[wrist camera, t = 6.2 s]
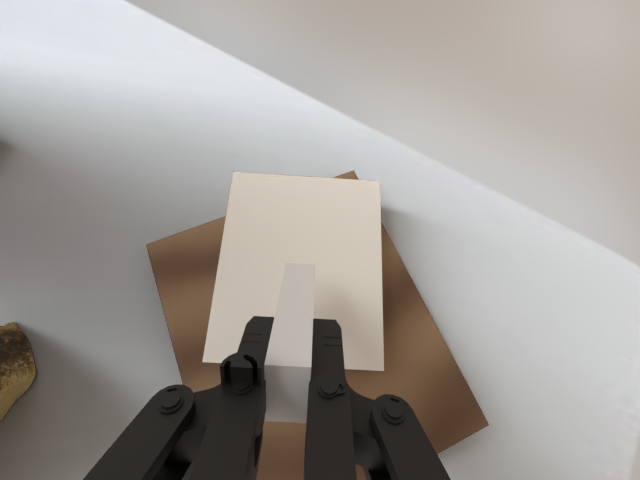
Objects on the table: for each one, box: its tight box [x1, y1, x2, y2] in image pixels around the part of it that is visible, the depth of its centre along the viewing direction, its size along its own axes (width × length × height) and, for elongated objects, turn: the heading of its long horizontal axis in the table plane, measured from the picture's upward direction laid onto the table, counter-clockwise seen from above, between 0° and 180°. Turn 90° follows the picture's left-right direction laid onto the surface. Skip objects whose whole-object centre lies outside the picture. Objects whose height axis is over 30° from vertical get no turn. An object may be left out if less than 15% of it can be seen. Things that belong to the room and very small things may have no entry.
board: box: [146, 170, 489, 480], centre depth 21 cm, size 19×16×1 cm
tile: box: [202, 172, 384, 371], centre depth 20 cm, size 2×10×12 cm
